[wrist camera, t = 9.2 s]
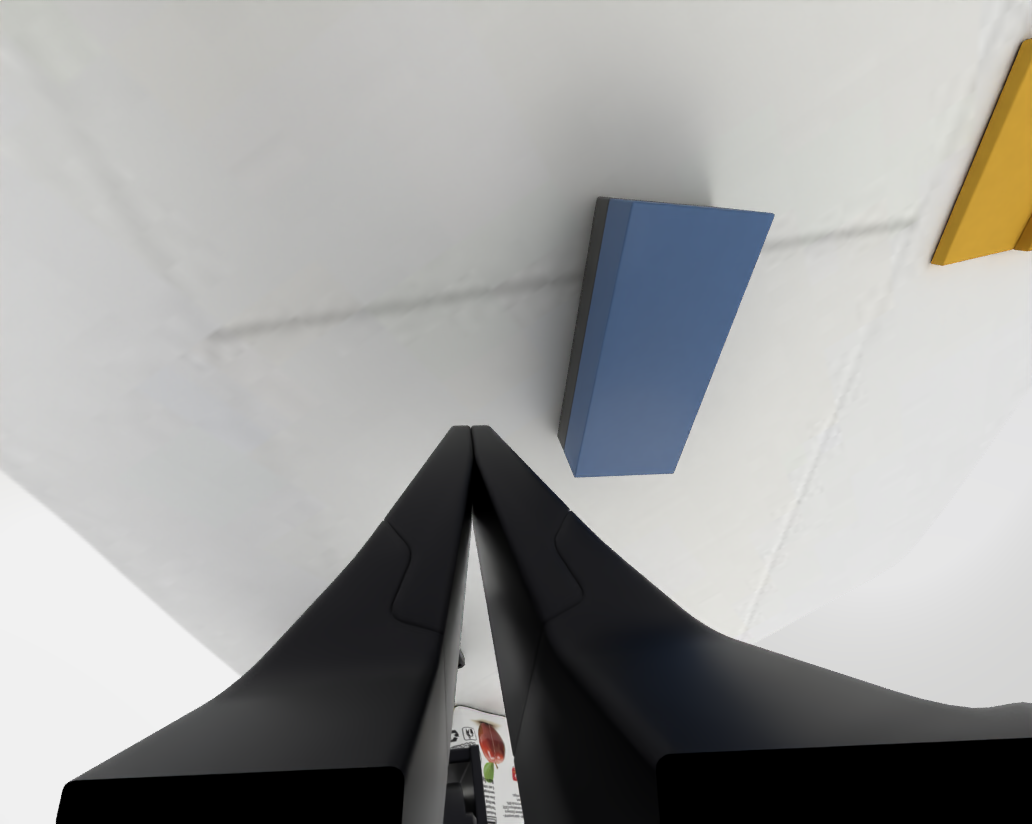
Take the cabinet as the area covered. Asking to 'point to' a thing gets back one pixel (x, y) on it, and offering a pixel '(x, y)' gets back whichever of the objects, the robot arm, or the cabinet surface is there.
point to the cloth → (997, 178)
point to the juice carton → (491, 761)
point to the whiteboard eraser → (651, 329)
